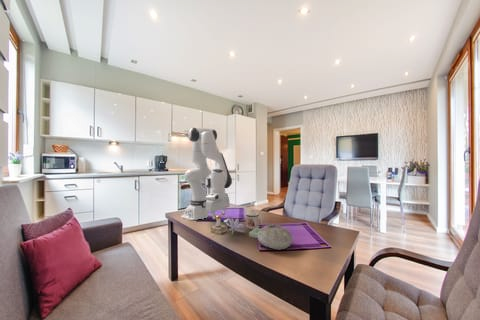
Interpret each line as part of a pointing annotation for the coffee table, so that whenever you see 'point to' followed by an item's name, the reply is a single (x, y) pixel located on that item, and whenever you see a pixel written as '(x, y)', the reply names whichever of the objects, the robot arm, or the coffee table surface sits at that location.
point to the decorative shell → (275, 237)
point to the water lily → (235, 225)
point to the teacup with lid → (252, 220)
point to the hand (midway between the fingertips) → (219, 216)
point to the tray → (254, 233)
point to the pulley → (227, 222)
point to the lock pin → (218, 220)
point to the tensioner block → (218, 229)
